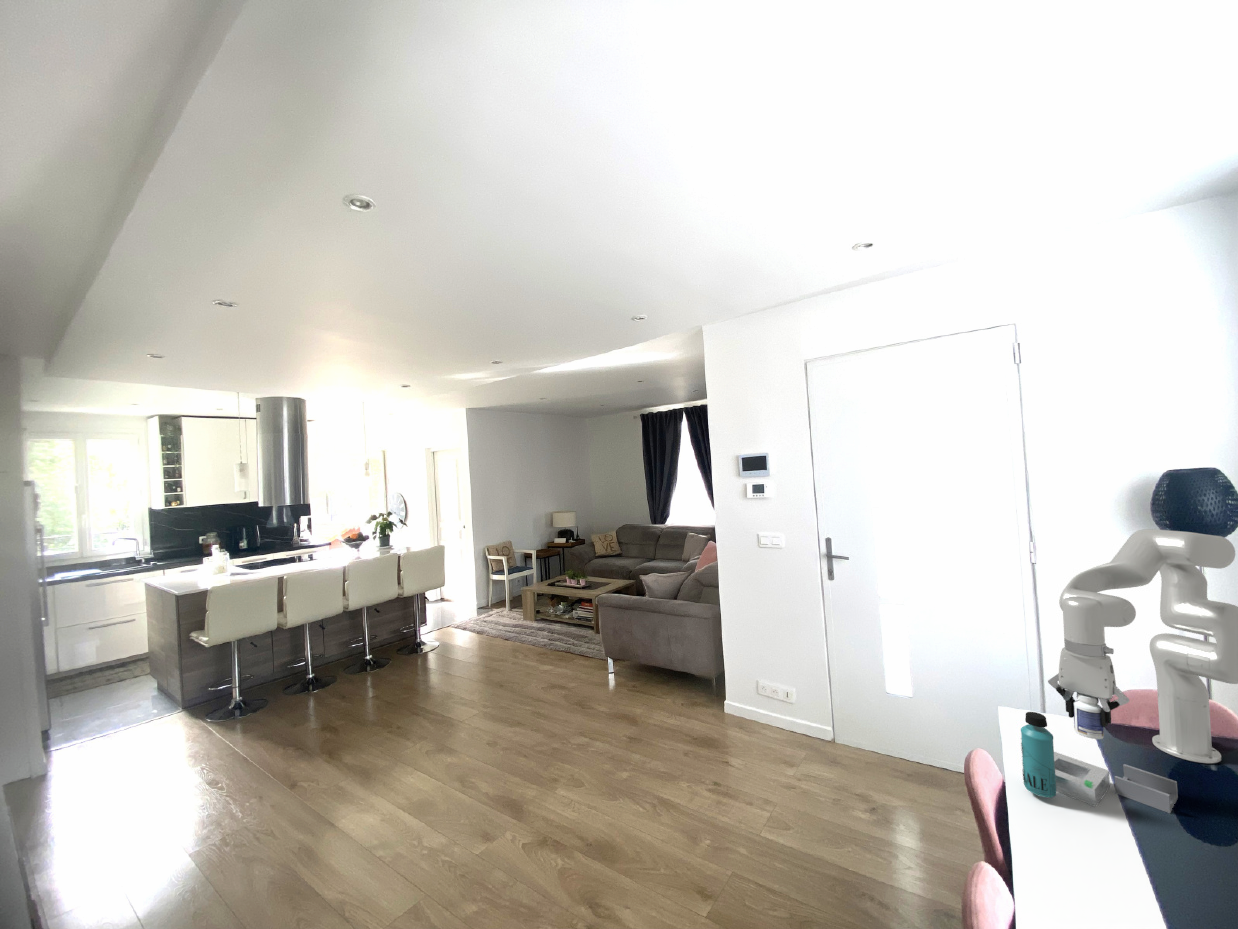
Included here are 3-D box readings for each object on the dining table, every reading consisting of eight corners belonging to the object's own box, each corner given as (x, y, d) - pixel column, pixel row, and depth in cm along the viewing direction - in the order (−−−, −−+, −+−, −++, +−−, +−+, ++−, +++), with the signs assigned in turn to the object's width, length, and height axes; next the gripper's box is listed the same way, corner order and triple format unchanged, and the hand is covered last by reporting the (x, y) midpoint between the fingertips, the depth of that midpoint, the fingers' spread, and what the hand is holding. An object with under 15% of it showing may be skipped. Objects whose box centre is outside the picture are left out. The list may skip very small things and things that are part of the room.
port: (1049, 764, 135) (1048, 747, 135) (1110, 786, 125) (1108, 768, 125) (1032, 782, 129) (1031, 764, 129) (1095, 806, 119) (1094, 787, 119)
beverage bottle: (1052, 790, 125) (1047, 710, 125) (1062, 807, 119) (1057, 723, 119) (1019, 785, 128) (1015, 706, 128) (1028, 801, 122) (1023, 718, 122)
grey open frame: (1124, 779, 128) (1123, 764, 128) (1177, 798, 120) (1176, 781, 120) (1115, 793, 123) (1114, 777, 123) (1170, 813, 115) (1168, 796, 115)
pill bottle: (1109, 741, 122) (1108, 700, 122) (1084, 739, 123) (1083, 698, 123) (1093, 730, 127) (1091, 691, 128) (1068, 728, 128) (1067, 689, 129)
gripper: (1136, 653, 121) (1140, 729, 120) (1045, 636, 135) (1049, 703, 134) (1129, 661, 116) (1133, 740, 116) (1036, 642, 130) (1040, 712, 130)
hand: (1088, 719), depth 125 cm, fingers closed on pill bottle, 5 cm apart
